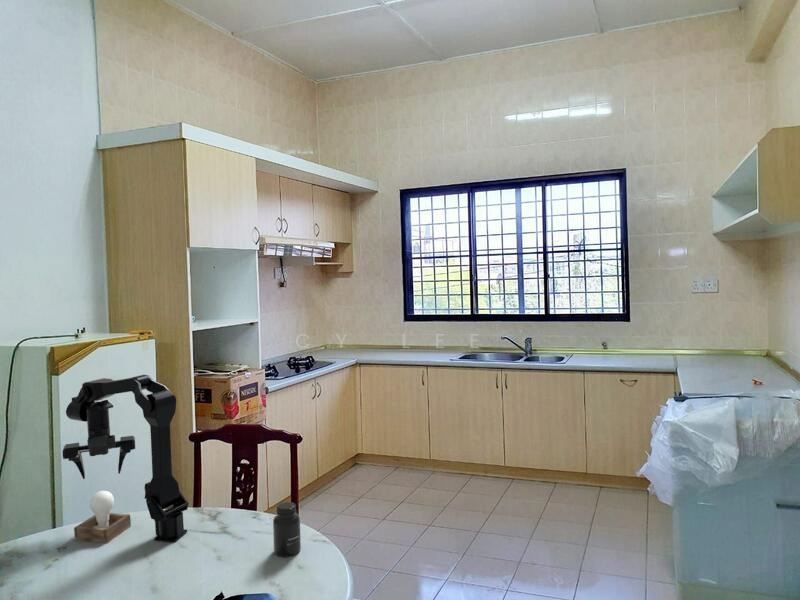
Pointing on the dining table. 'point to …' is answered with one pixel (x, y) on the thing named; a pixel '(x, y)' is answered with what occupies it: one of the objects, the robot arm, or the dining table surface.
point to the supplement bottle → (286, 530)
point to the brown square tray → (95, 534)
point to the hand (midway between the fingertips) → (101, 475)
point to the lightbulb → (102, 507)
